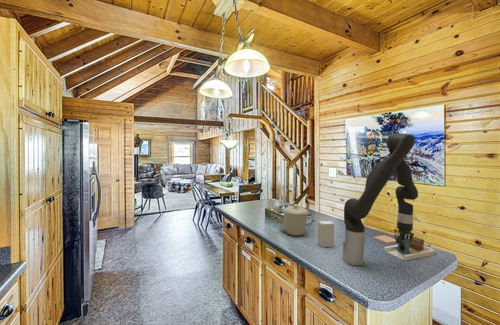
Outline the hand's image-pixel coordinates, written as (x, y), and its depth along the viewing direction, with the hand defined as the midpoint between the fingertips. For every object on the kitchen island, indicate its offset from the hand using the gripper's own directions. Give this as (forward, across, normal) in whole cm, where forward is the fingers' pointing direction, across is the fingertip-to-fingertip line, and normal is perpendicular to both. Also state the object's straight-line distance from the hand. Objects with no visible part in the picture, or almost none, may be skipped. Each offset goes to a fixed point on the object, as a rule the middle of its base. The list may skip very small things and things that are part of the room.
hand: (403, 250), depth 128 cm
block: (0, +11, 0) cm, 11 cm away
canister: (+2, -43, +48) cm, 64 cm away
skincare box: (+2, -36, +24) cm, 43 cm away
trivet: (+2, +9, +18) cm, 20 cm away
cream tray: (+2, +6, 0) cm, 6 cm away
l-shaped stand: (+2, +7, 0) cm, 7 cm away
